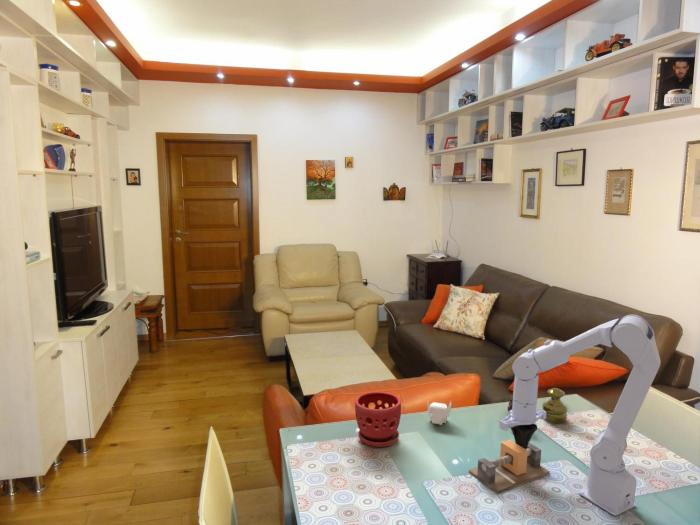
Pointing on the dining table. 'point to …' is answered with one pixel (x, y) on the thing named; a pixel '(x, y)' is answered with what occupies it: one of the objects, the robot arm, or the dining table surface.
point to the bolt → (510, 405)
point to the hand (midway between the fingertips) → (521, 449)
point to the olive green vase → (555, 407)
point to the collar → (514, 457)
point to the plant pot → (378, 418)
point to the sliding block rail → (504, 478)
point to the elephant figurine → (438, 412)
